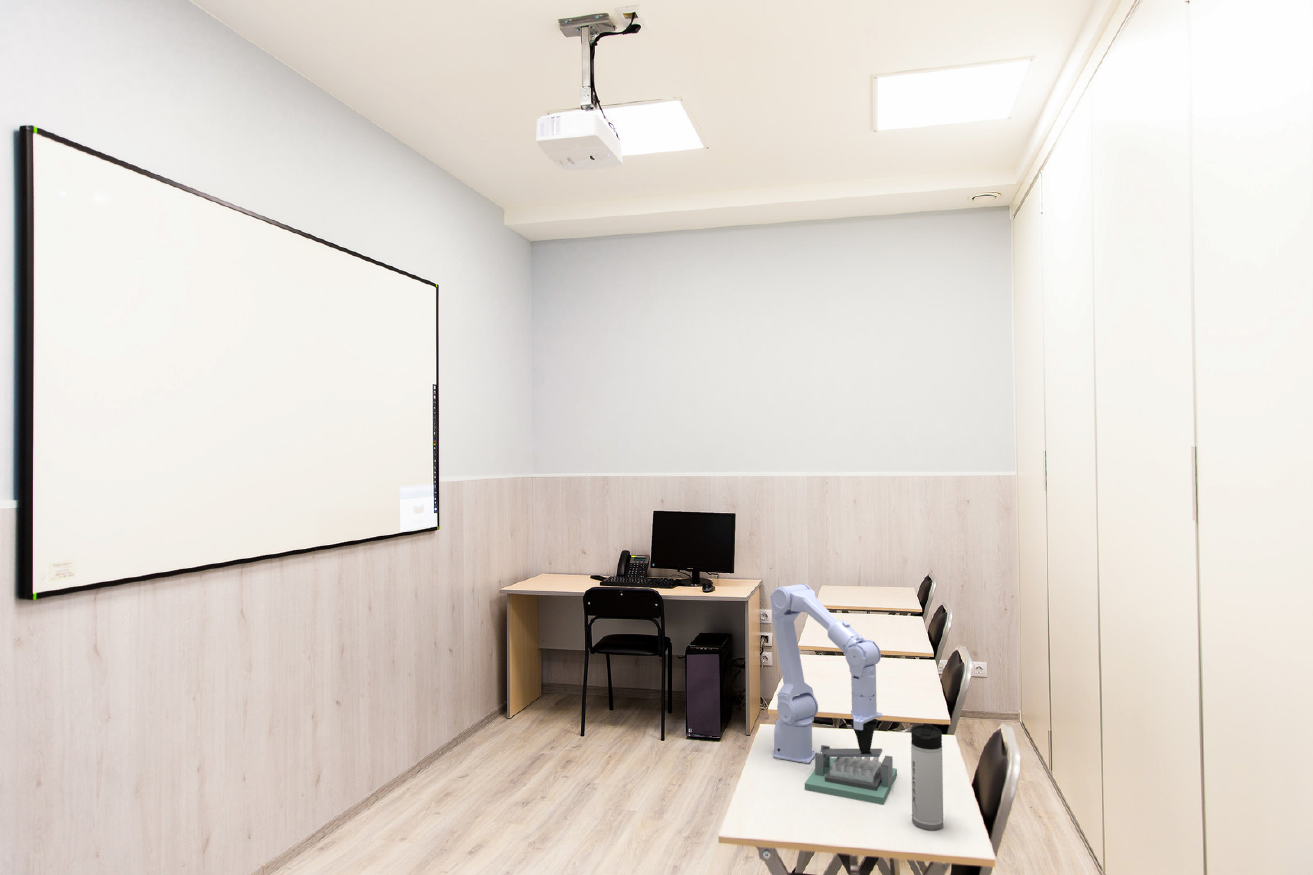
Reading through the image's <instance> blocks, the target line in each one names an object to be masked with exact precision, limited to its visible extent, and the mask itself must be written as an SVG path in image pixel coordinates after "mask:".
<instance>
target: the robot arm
mask: <svg viewBox="0 0 1313 875" xmlns="http://www.w3.org/2000/svg"><path fill="white" fill-rule="evenodd" d="M769 598H770V605H771V612H772V613H771V618H772V623H773V624H772V626H773V631H774V636H775V642H776V647H777V652H778V653H777V654H778V658H779V659H778V660H779V665H780V671H781V677H782V683H783V685H782V687H781V688H780V689H779V691H778V692H777V707H776V711H777V715H778V717H779V718H778V719H776V721H775V725H774V729H773V738H774V739H773V746H774V750H773V752H774V753H773V756H772V757H773V758H775V759H780V760H785V761H791V762H797V763H804V764H810V763H811V762H812V760H813V759H815V753H818V751H817V750H813V722H814V721H815V718H814V717H815V716H817V715H818V713H819V703H818V700H817V698H816V697H815V694H814V690H813V687H812V686H810V685H809V684H808V683H807V682H805V678H804V677H805V676H804V671H803V666H802V660H801V654H800V649H799V648H800V647H799V645H798V644H799V643H798V638H797V632H796V627H795V621H796V618H798V616H799V614H800V613H801V614H802V613H806V614H807V615H809V616H810V617H811V618H812V619H813V620H814V621H815V622H817V623H818V624H819V625H820V626H822V627H823V628H824V629H826V631H827V638H828V639H829V640H830V641H831V642H832V643H833V644H834V645H835V646H836V647H837V648H838V649H839V650H840V651H841V652H842V653H844V655H845V660H846V663H847V665H848V667H849V673H850V675H851V676H850V677H851V679H850V680H851V683H850V684H851V710H850V715H851V718H852V719H851V721H850V725H851V728H852V729H853V731H854V734H855V737H856V739H857V744H858V749H860V752H866V753H868V752H869V751H870V749H872V743H873V738H874V732H875V729H876V727H877V725H878V723H879V720H878V719H881V718H882V717H883V713H882V712H878V708H877V704H878V701H877V664H879V663H880V661H881V659H882V658H881V657H882V652H881V649H880V648H879V646H878V644H877V643H876V642H875V641H874V640H871V639H866V638H865V637H863V636H862V635H860V633H858V632H857V631H856V630H855V629H854V628H852V627H851V623H850V622H848V621H845V620H843V619H841V620H838V619H836V617H835V616H834V615H833V614H832V613H831V612H830V611H829V610H828V609H827V608H826V607H825V606H824V605H823V604H822V602H821V601H820V600H819V599H818V597H817V595H816V592H815V590H814V589H812V588H811V587H810V586H809V585H808V584H806V583H803V582H802V583H798V584H792V585H786V586H777V587H776V588H775V589H774V590H773V592H772V593H771V594H770V595H769Z"/></svg>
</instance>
